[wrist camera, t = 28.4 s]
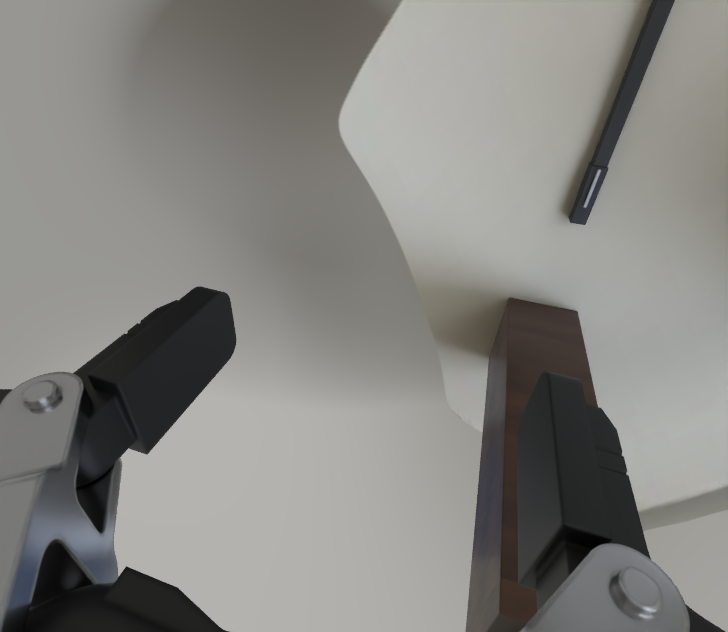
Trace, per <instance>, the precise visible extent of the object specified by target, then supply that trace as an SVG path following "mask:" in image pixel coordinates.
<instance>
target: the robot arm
mask: <svg viewBox="0 0 728 632" xmlns="http://www.w3.org/2000/svg"><path fill="white" fill-rule="evenodd" d="M235 345H236V333H235V327H234V321H233V315H232V308H231V302H230V298H229V296H228V294H226V293H225V292H220V291H217V290H212V289H208V288H204V287H196V288H194V289H193V290H191V291H190V292H189V293H187V294H186V295H185V296H184V297H182V298H181V299H180V300H179V301H178V300H176V301H173V302H171V303H169V304H166V305H164V306H162V307H160V308H157V309H155V310H154V311H153V312H152V313H150V314H149V315H148V316H147V317H145V318H144V319H143V320H141V323H140V324H136V325H135V326H134V327H132V328H131V329H130V330H128V333H127V334H123V335H122V336H121V337H119V338H118V339H117V340H116V341H114V342H113V343H112V344H110V345H109V346H108V347H107V348H105V349H104V350H103V351H101V352H100V353H99V354H98V355H96V356H95V357H94V358H92V359H91V360H90V361H89V362H87V363H86V364H85V365H83V366H82V367H81V368H80V369H78V370H77V371H76V372H74V373H73V374H72V373H67V372H54V373H48V374H44V375H40V376H37V377H34V378H32V379H30V380H28V381H26V382H24V383H22V384H20V385H19V386H17V387H16V388H14V389H13V390H11V389H10V390H9V389H8V390H7V389H5V390H3V389H0V632H228V631H225V630H223V629H221V628H220V627H219V626H218V625H217V624H216V623H215V622H213V621H212V620H211V619H210V618H209V617H208V616H207V615H206V614H205V613H204V612H203V611H202V610H201V609H200V608H199V607H197V606H196V605H195V604H194V603H193V602H192V601H191V600H190V599H189V598H188V597H187V596H186V595H184V593H183V592H182V591H180V590H179V589H178V588H177V587H174V586H172V585H170V584H167V583H165V582H162V581H160V580H158V579H155V578H153V577H150V576H148V575H145V574H143V573H141V572H138V571H136V570H133V569H131V568H129V567H126V568H125V569H124V570H123V572H122V573H121V575H120V576H119V577H118V567H117V560H116V556H115V551H114V531H115V522H116V514H117V505H118V496H119V488H120V479H121V470H122V461H121V459H120V457H121V456H122V454H124V452H125V451H126V450H127V449H128V448H130V449H132V450H136V451H138V452H141V453H144V454H148V453H149V452H150V450H151V449H152V448H153V447H154V446H155V445H156V444H157V443H158V441H159V440H160V439H161V438H162V437H163V436H164V434H165V433H166V432H167V431H168V430H169V429H170V427H171V426H172V425H173V424H174V423H175V422H176V421H177V419H178V418H179V417H180V416H181V415H182V414H183V412H184V411H185V410H186V409H187V408H188V407H189V406H190V404H191V403H192V402H193V401H194V400H195V398H196V397H197V396H198V395H199V394H200V393H201V392H202V390H203V389H204V388H205V387H206V386H207V385H208V384H209V382H210V381H211V380H212V379H213V378H214V377H215V376H216V374H217V373H218V372H219V371H220V370H221V369H222V367H223V366H224V365H225V364H226V363H227V362H228V360H229V359H230V358H231V356H232V354H233V352H234V349H235ZM626 472H627V468H626V464H625V460H624V457H623V456H622V449H621V445H620V441H619V437H618V433H617V430H616V428H615V427H614V426H613V424H612V423H611V421H610V420H609V418H608V417H607V416H606V414H605V413H604V411H603V410H602V409H601V408H598V407H594V406H590V405H586V400H585V395H584V390H583V385H582V382H581V380H580V379H577V378H573V377H569V376H565V375H561V374H557V373H553V372H548V371H543V372H542V373H541V375H540V377H539V379H538V381H537V383H536V385H535V387H534V390H533V392H532V394H531V396H530V398H529V400H528V403H527V405H526V407H525V409H524V411H523V414H522V416H521V419H520V423H519V427H518V434H517V503H518V585H521V586H524V587H526V588H529V589H532V590H535V591H536V595H537V612H536V613H535V615H534V616H533V617H532V618H531V619H530V620H529V621H528V623H527V624H526V625H525V626H524V627H523V628H522V629H521V631H520V632H725V631H723V630H722V629H720V628H719V627H717V626H715V625H714V624H712V623H711V622H709V621H707V620H706V619H704V618H703V617H702V616H700V615H698V614H697V613H696V612H694V611H693V610H692V609H691V608H689V607H688V606H687V605H686V604H685V602H684V600H683V598H682V596H681V594H680V592H679V591H678V589H677V587H676V586H675V584H674V583H673V582H672V580H671V579H670V578H669V577H668V575H667V574H666V573H665V572H664V571H663V570H662V569H661V568H660V567H659V566H658V565H657V564H656V563H654V562H653V561H652V560H651V558H650V556H649V552H648V549H647V546H646V542H645V538H644V534H643V530H642V526H641V522H640V518H639V515H638V511H637V507H636V503H635V499H634V495H633V491H632V487H631V484H630V480H629V476H628V475H626Z"/></svg>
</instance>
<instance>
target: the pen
mask: <svg viewBox="0 0 728 632" xmlns="http://www.w3.org/2000/svg"><path fill="white" fill-rule="evenodd" d="M674 1H675V0H653V1H652V4H651V6H650V9H649V12H648V14H647V17H646V20H645V22H644V25H643V27H642V30H641V33H640V35H639V38H638V41H637V43H636V46H635V48H634V51H633V54H632V56H631V59H630V61H629V64H628V67H627V69H626V72H625V75H624V77H623V80H622V82H621V85H620V88H619V90H618V93H617V96H616V98H615V101H614V103H613V106H612V109H611V111H610V114H609V117H608V119H607V122H606V124H605V127H604V130H603V132H602V135H601V138H600V140H599V143H598V145H597V148H596V151H595V153H594V156H593V159H592V161H591V162H590V163H589V166H588V168H587V171H586V173H585V176H584V179H583V181H582V184H581V187H580V189H579V192H578V195H577V197H576V200H575V202H574V205H573V208H572V210H571V213H570V216H569V219H570V222H571V223H577V224H583V225H585V224H586V222H587V219H588V217H589V215H590V212H591V210H592V207H593V205H594V202H595V200H596V198H597V195H598V193H599V190H600V188H601V185H602V183H603V180H604V178H605V176H606V173H607V171H608V167H607V166H608V163H609V161H610V158H611V156H612V153H613V151H614V148H615V146H616V144H617V141H618V139H619V136H620V134H621V131H622V129H623V126H624V124H625V121H626V119H627V116H628V114H629V112H630V109H631V107H632V104H633V102H634V99H635V97H636V94H637V92H638V89H639V87H640V85H641V82H642V80H643V77H644V75H645V72H646V70H647V67H648V65H649V62H650V60H651V57H652V55H653V53H654V50H655V48H656V45H657V43H658V40H659V38H660V35H661V33H662V30H663V28H664V26H665V23H666V21H667V18H668V16H669V13H670V11H671V8H672V6H673V3H674Z"/></svg>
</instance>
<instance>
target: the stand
mask: <svg viewBox="0 0 728 632" xmlns="http://www.w3.org/2000/svg"><path fill="white" fill-rule="evenodd" d="M543 371H548V372H553V373H557V374H561V375H565V376H569V377H573V378H577V379H580V380H581V382H582V385H583V390H584V395H585V400H586V405H590V406H594V407H598V405H597V401H596V396H595V391H594V387H593V382H592V377H591V373H590V368H589V363H588V359H587V354H586V349H585V345H584V340H583V335H582V331H581V326H580V321H579V317H578V312H577V311H572V310H567V309H562V308H557V307H552V306H547V305H542V304H538V303H533V302H528V301H523V300H518V299H513V298H509V299H508V302H507V305H506V309H505V312H504V315H503V318H502V321H501V324H500V327H499V330H498V333H497V336H496V339H495V343H494V346H493V349H492V352H491V355H490V358H489V367H488V379H487V390H486V402H485V414H484V425H483V437H482V450H481V461H480V472H479V484H478V495H477V507H476V519H475V530H474V542H473V553H472V565H471V577H470V588H469V600H468V612H467V623H466V632H520V631H521V629H522V628H523V627H524V626H525V625H526V624H527V623H528V621H529V620H530V619H531V618H532V617H533V616H534V615H535V613H536V612H537V595H536V591H535V590H532V589H529V588H526V587H524V586H521V585H518V503H517V434H518V427H519V423H520V419H521V416H522V414H523V411H524V409H525V407H526V405H527V403H528V400H529V398H530V396H531V394H532V392H533V390H534V387H535V385H536V383H537V381H538V379H539V377H540V375H541V373H542V372H543Z"/></svg>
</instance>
